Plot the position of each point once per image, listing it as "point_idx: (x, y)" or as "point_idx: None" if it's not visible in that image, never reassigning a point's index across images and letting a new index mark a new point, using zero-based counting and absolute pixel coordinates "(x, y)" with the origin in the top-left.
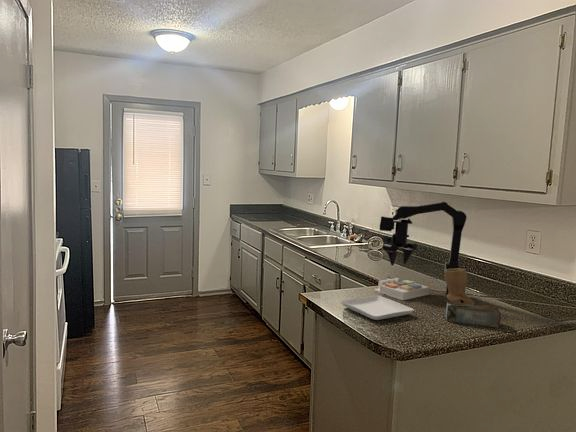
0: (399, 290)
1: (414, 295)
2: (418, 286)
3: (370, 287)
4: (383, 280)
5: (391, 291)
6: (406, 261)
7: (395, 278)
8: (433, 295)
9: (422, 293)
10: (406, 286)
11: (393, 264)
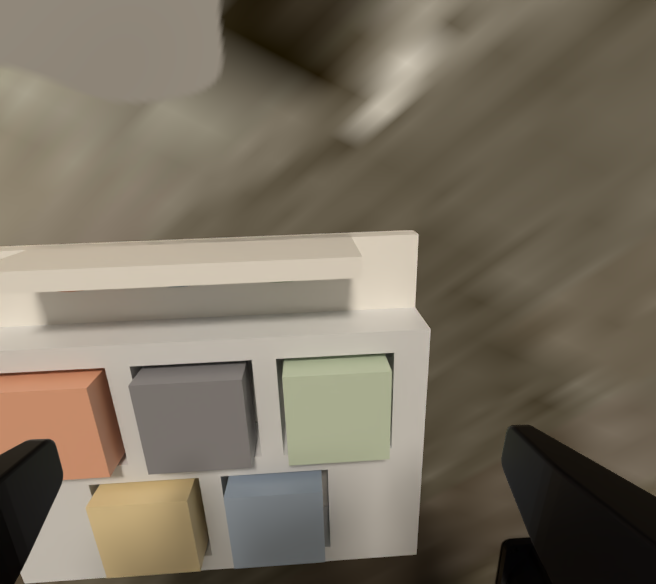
0: None
1: None
2: (275, 563)
3: (36, 106)
4: (57, 275)
5: None
6: (536, 533)
7: (315, 265)
8: None
9: None
10: (144, 537)
11: (44, 504)
